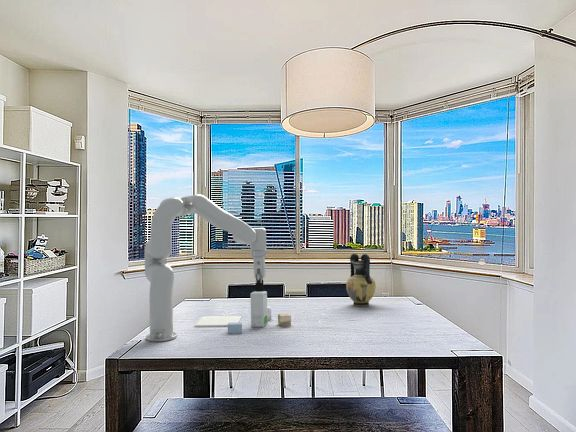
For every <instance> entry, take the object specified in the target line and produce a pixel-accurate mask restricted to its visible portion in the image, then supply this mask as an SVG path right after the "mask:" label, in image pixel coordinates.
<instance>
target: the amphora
mask: <svg viewBox="0 0 576 432" xmlns="http://www.w3.org/2000/svg"><path fill="white" fill-rule="evenodd" d="M349 261H350V263H349V264H350V275H349V276H350V277H349V278H348V279H347V281H346V284H345V287H346V288H345V290H346V292H347V295H348V297H349V299H350V300H351V301H352V302H353V306H355V307H369V306H370V303H369V302H370V301H371V300H372V299H373V297H374V295H375V293H376V281H375V279H374V278H373V277H372V276H370V275H371V274H370V269H371V268H370V267H371V266H370V265H371V264H370V263H371V258H370V256H369V255H368V254H367V253H364V254H362V255H361V257H359V255H358V254H357V253H352V254H351V255H350V257H349Z"/></svg>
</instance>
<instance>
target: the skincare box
mask: <svg viewBox="0 0 576 432" xmlns="http://www.w3.org/2000/svg"><path fill="white" fill-rule="evenodd" d="M249 295H250V327H252V328H254V327H255V328H265V326H267V324H268V321H269V320H268V319H267V306H268V291H265V290H263V291H262V292H256V291H252V292H251V293H250V294H249Z"/></svg>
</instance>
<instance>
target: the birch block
mask: <svg viewBox="0 0 576 432" xmlns="http://www.w3.org/2000/svg"><path fill="white" fill-rule="evenodd" d="M277 325H278V326H279V327H289V326H290V327H291V326H292V315H291V314H290V313H288V312H287V313H277Z"/></svg>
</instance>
